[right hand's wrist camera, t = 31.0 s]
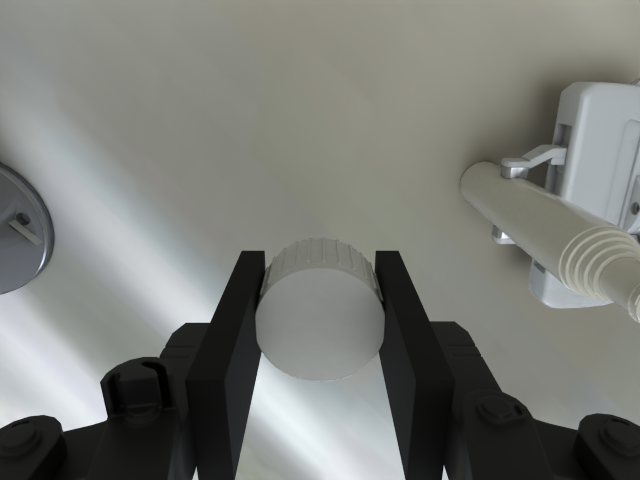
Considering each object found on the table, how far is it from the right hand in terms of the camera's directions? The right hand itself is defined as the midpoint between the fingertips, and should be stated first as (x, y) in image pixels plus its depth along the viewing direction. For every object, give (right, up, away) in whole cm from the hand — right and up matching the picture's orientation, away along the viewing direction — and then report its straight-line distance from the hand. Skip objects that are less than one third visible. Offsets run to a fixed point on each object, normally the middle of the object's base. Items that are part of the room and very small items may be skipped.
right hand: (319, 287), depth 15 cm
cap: (0, -1, -2) cm, 2 cm away
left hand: (+16, +5, +24) cm, 29 cm away
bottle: (+17, +7, +30) cm, 35 cm away
